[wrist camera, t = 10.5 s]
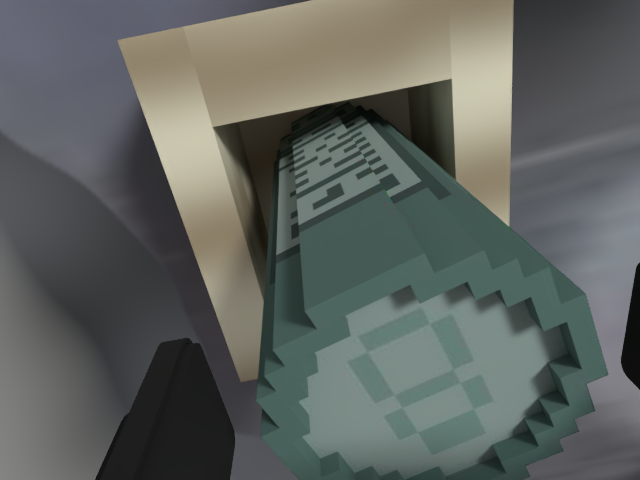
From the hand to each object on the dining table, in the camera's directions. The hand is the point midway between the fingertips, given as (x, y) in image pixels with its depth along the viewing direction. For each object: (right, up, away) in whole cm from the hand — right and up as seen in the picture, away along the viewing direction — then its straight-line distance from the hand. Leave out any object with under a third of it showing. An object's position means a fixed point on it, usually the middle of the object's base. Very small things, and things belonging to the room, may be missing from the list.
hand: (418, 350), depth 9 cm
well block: (-2, +6, +13) cm, 14 cm away
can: (-1, +6, +12) cm, 14 cm away
